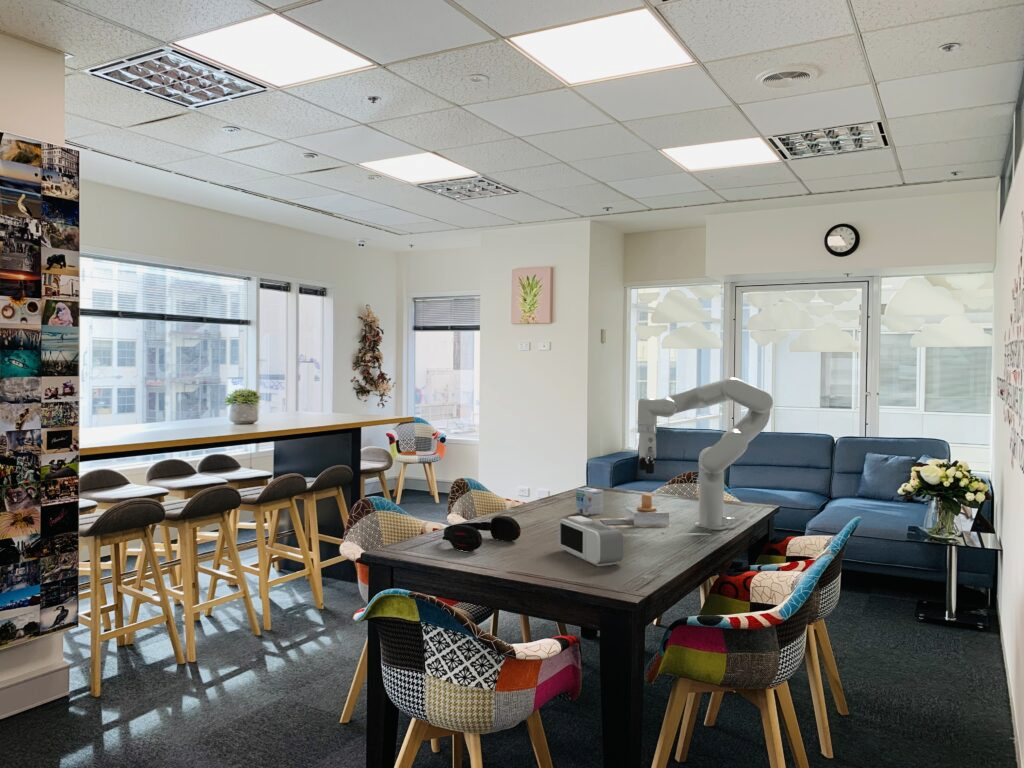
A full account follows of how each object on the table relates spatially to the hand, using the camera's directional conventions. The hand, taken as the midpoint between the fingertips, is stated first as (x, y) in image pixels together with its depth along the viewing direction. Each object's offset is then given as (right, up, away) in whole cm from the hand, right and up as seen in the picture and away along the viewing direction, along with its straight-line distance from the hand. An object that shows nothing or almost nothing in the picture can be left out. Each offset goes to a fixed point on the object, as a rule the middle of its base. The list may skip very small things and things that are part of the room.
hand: (646, 471), depth 310 cm
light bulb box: (-20, -21, +23) cm, 37 cm away
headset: (-64, -22, -38) cm, 77 cm away
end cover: (0, -20, 0) cm, 20 cm away
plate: (-6, -21, 0) cm, 22 cm away
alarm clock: (-28, -22, -55) cm, 66 cm away
